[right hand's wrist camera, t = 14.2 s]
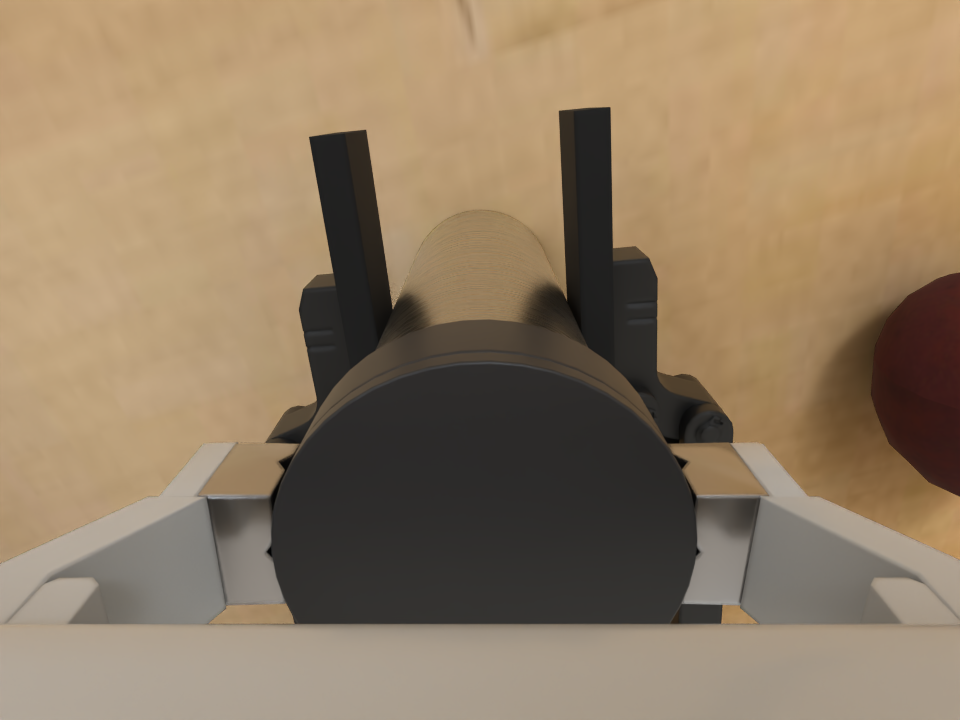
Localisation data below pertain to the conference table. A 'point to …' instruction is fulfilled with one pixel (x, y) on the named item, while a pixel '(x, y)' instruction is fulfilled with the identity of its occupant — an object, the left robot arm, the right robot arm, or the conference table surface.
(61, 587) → the right robot arm
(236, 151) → the conference table surface
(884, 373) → the potato
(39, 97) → the conference table surface
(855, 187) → the conference table surface
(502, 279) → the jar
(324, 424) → the lid
